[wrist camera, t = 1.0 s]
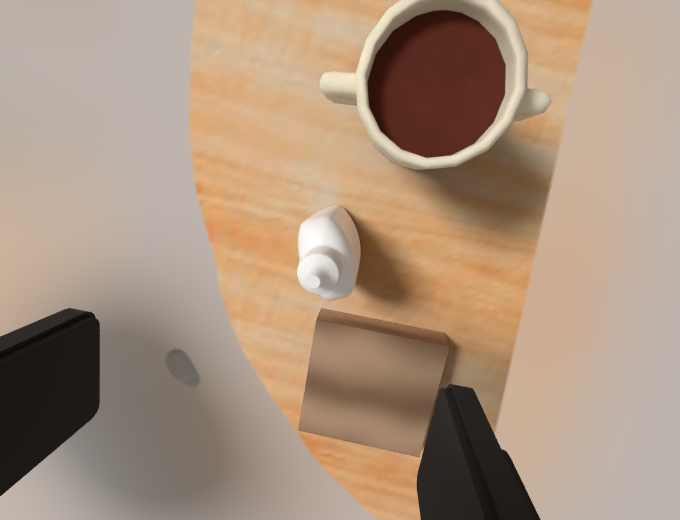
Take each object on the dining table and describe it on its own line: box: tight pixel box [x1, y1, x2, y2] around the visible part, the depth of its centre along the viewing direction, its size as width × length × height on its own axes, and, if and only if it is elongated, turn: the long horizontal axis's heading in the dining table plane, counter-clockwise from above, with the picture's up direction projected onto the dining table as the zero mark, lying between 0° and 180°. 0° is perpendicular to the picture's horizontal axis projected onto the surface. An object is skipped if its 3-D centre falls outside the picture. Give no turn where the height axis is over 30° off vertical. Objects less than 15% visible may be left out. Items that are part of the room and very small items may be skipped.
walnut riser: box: [298, 308, 450, 457], centre depth 32 cm, size 11×11×2 cm
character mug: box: [319, 0, 552, 170], centre depth 21 cm, size 11×7×13 cm, turn 84°
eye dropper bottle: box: [297, 205, 361, 300], centre depth 24 cm, size 4×6×12 cm
